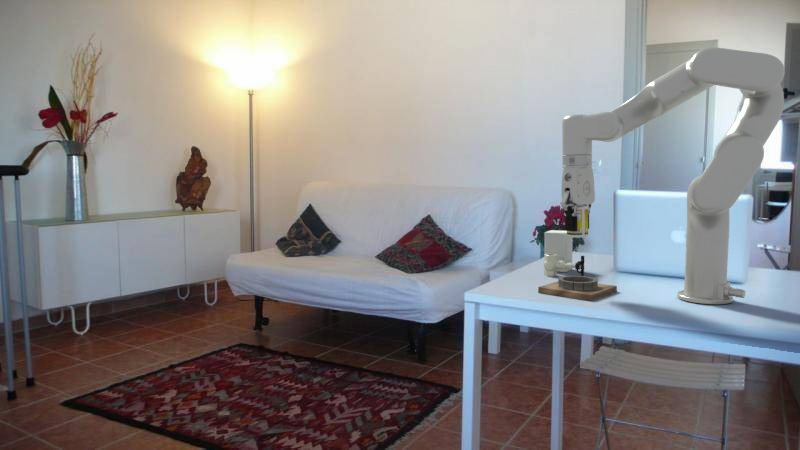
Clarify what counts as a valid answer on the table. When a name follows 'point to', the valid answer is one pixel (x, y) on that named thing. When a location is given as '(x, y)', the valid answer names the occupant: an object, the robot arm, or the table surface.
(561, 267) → the valve
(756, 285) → the table surface
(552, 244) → the supplement box
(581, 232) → the supplement bottle
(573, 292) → the collar plate
